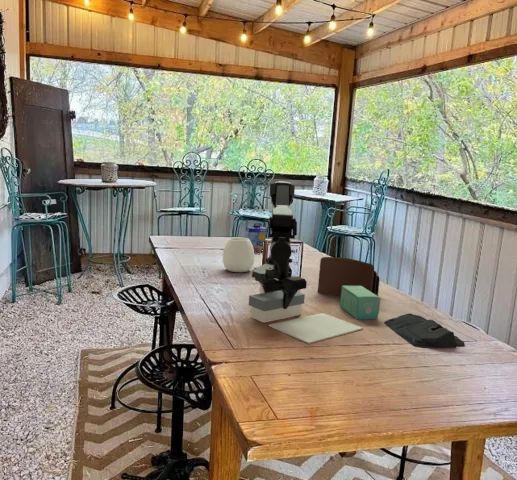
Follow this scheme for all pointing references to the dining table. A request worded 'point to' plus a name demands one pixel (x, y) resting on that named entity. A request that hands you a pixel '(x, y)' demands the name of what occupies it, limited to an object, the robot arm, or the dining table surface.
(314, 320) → the pale cream mat
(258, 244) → the ink cartridge box
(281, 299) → the grey rectangular block
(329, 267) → the letter holder
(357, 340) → the dining table surface
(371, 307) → the box
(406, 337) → the dark slate chunk
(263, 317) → the base
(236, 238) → the cream rounded pot
